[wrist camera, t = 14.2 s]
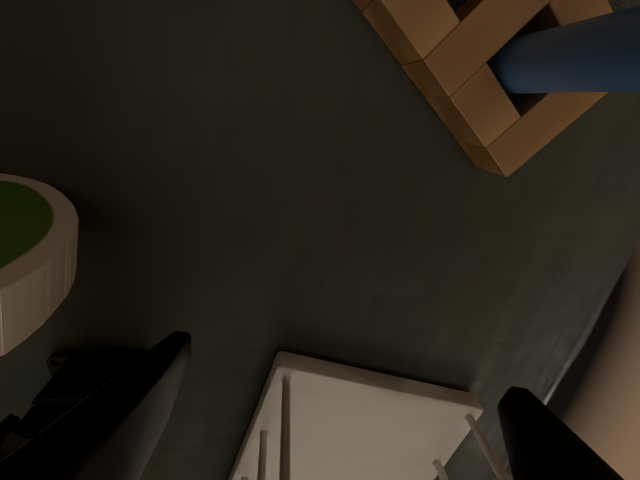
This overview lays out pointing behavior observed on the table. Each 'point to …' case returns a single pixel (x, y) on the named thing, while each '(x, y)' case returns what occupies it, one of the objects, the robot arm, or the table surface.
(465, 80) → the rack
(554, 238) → the table surface
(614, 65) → the peg
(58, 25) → the table surface
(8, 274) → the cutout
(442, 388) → the file sorter
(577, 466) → the robot arm
